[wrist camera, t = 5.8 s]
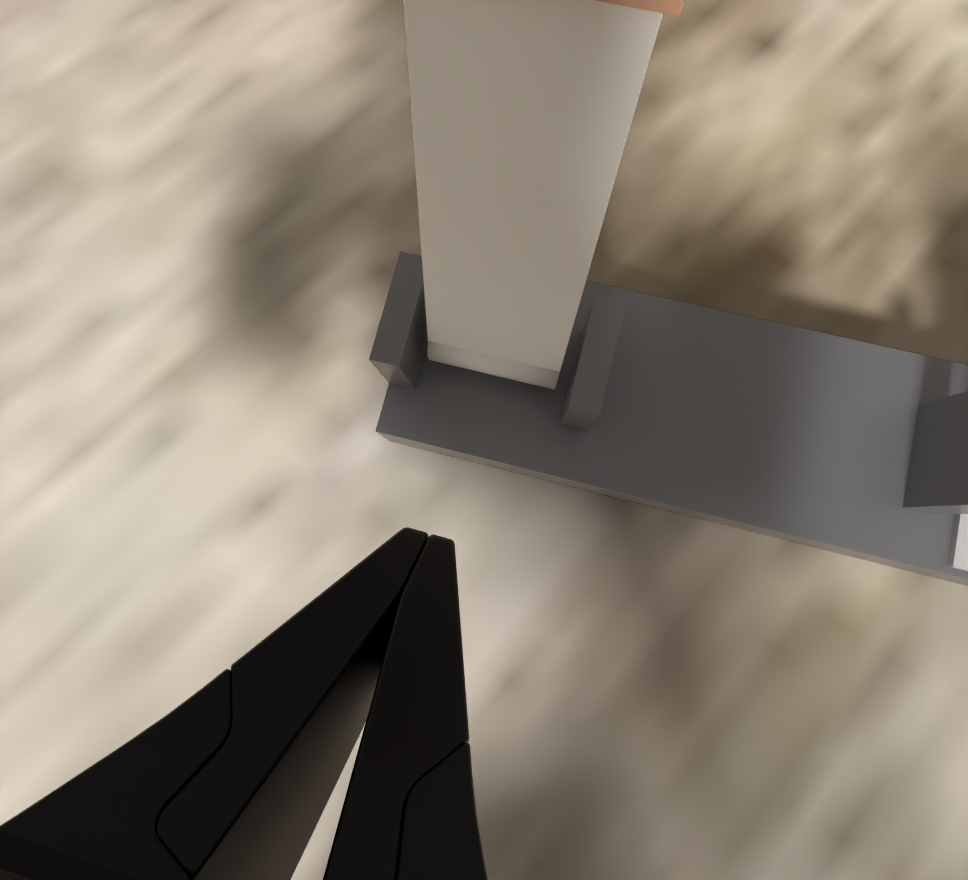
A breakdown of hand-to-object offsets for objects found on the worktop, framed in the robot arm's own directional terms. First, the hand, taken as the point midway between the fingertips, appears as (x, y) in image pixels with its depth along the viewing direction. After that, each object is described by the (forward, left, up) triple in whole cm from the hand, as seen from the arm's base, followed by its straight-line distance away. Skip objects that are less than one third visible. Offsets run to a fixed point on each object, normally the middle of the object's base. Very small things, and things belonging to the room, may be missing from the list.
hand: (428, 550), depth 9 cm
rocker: (+4, +4, -6) cm, 8 cm away
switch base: (+9, -1, -9) cm, 13 cm away
